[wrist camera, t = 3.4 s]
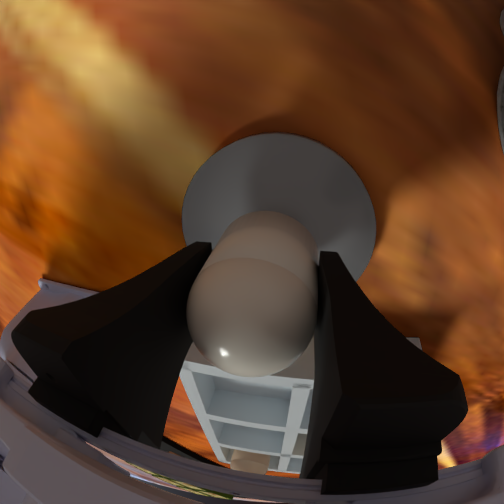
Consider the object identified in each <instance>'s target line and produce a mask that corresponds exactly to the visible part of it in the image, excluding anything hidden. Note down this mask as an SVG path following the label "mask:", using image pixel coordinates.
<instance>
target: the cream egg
mask: <svg viewBox="0 0 504 504" xmlns="http://www.w3.org/2000/svg"><path fill="white" fill-rule="evenodd" d="M318 266H319V254H318V248H317V245H316V242H315V240H314V238H313V237H312V235H311V233H310V232H309V231H308V230H307V229H306V228H305V227H304V226H303V225H302V224H301V223H300V222H298V221H297V220H295V219H293V218H292V217H290V216H287V215H285V214H282V213H278V212H273V211H256V212H251V213H248V214H245V215H243V216H241V217H239V218H237V219H236V220H234V221H233V222H232V223H231V224H230V225H229V226H228V227H227V228H226V230H225V231H224V233H223V235H222V236H221V238H220V239H219V241H218V243H217V244H216V246H215V248H214V249H213V251H212V252H211V254H210V256H209V257H208V259H207V261H206V262H205V264H204V266H203V267H202V269H201V271H200V272H199V274H198V276H197V277H196V279H195V281H194V283H193V285H192V287H191V289H190V292H189V296H188V300H187V306H186V319H187V326H188V330H189V333H190V336H191V338H192V340H193V342H194V344H195V346H196V348H197V349H198V350H199V352H200V353H201V354H202V355H203V356H204V357H205V359H206V360H208V361H209V362H210V363H211V364H212V365H214V366H215V367H217V368H219V369H220V370H222V371H224V372H227V373H229V374H232V375H236V376H241V377H263V376H267V375H271V374H274V373H277V372H279V371H281V370H283V369H285V368H287V367H288V366H290V365H291V364H292V363H294V362H295V361H296V360H297V359H298V358H299V357H300V356H301V355H302V354H303V353H304V351H305V350H306V349H307V347H308V345H309V343H310V342H311V339H312V337H313V335H314V332H315V328H316V324H317V314H318Z"/></svg>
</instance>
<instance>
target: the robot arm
mask: <svg viewBox="0 0 504 504" xmlns="http://www.w3.org/2000/svg"><path fill="white" fill-rule="evenodd" d="M211 252H212V243H211V242H199V241H196V242H194V243H192V244H190V245H188V246H187V247H185V248H183V249H182V250H180V251H178V252H177V253H175V254H173V255H172V256H170V257H168V258H167V259H165V260H163V261H162V262H160V263H159V264H157V265H155V266H153V267H152V268H150V269H148V270H146V271H144V272H143V273H141V274H139V275H137V276H135V277H134V278H132V279H130V280H128V281H126V282H123V283H121V284H119V285H117V286H115V287H112V288H110V289H108V290H105V291H102V292H95V291H91V290H87V289H82V288H78V287H74V286H70V285H66V284H62V283H58V282H54V281H50V280H46V279H42V278H40V279H39V280H38V283H39V286H40V288H41V290H40V291H39V292H38V293H37V294H36V295H35V296H34V297H33V298H32V299H31V300H30V301H29V302H28V303H27V304H26V305H25V306H24V307H23V308H22V309H21V310H20V312H19V313H18V314H17V315H16V316H15V317H14V318H13V319H12V320H11V321H10V322H9V324H8V325H7V326H6V328H5V329H4V331H3V333H2V336H1V340H0V356H1V357H0V504H204V503H201V502H197V501H194V500H191V499H188V498H184V497H181V496H178V495H175V494H172V493H169V492H167V491H164V490H161V489H159V488H156V487H153V486H151V485H148V484H146V483H143V482H141V481H138V480H136V479H134V478H131V477H129V476H130V473H129V472H128V471H126V470H125V469H123V468H121V467H120V466H118V465H116V464H115V463H114V462H112V461H111V460H109V459H108V458H107V457H105V456H104V455H103V454H102V453H101V452H100V451H98V450H96V449H95V448H93V447H91V446H90V445H88V444H86V442H88V443H90V444H92V445H94V446H95V447H97V448H99V449H101V450H103V451H105V452H107V453H109V454H111V455H114V456H116V457H118V458H120V459H122V460H124V461H127V462H129V463H131V464H134V465H136V466H139V467H141V468H144V469H146V470H149V471H151V472H154V473H157V474H159V475H162V476H165V477H168V478H171V479H174V480H177V481H180V482H183V483H187V484H190V485H194V486H197V487H201V488H205V489H209V490H213V491H217V492H221V493H226V494H231V495H236V496H241V497H247V498H253V499H259V500H266V501H275V502H284V503H296V504H504V445H502V446H499V447H498V448H496V449H494V450H492V451H491V452H489V453H488V454H486V455H485V456H484V457H483V458H482V459H479V460H476V461H472V462H469V463H465V464H461V465H457V466H453V467H449V468H445V469H440V470H438V462H437V455H440V454H441V452H442V446H441V440H442V439H444V438H445V437H446V436H447V435H448V434H449V433H451V432H452V431H453V430H454V429H455V428H456V427H457V426H458V425H459V424H460V423H461V422H462V421H463V420H464V418H465V416H466V414H467V412H468V406H467V401H466V397H465V392H464V388H463V385H462V382H461V379H460V377H459V375H458V374H456V373H455V372H453V371H452V370H450V369H448V368H447V367H445V366H444V365H442V364H441V363H439V362H437V361H436V360H434V359H433V358H431V357H430V356H429V355H427V354H426V353H425V352H423V351H422V350H421V349H419V348H418V347H417V346H415V345H414V344H413V343H412V342H410V341H409V340H408V339H407V338H406V337H405V336H403V335H402V334H401V333H400V332H399V331H398V330H397V329H396V328H394V327H393V326H392V325H391V324H390V323H389V322H388V321H387V320H386V319H385V317H384V316H383V315H382V314H381V313H380V312H379V311H378V310H377V309H376V308H375V307H374V305H373V304H372V303H371V302H370V300H369V299H368V298H367V297H366V295H365V294H364V293H363V291H362V290H361V289H360V287H359V286H358V284H357V283H356V281H355V280H354V278H353V277H352V275H351V274H350V272H349V271H348V269H347V267H346V266H345V264H344V262H343V261H342V259H341V257H340V255H339V254H338V253H337V252H332V251H320V257H319V266H318V314H317V324H316V328H315V332H314V364H315V370H314V385H313V394H312V403H311V411H310V418H309V425H308V432H307V438H306V445H305V451H304V456H303V461H302V467H301V472H300V477H299V478H288V477H278V476H270V475H262V474H256V473H250V472H244V471H238V470H233V469H228V468H223V467H219V466H215V465H210V464H206V463H202V462H198V461H195V460H191V459H188V458H184V457H181V456H177V455H174V454H171V453H168V452H165V451H162V450H160V448H161V442H162V437H163V433H164V428H165V423H166V419H167V415H168V412H169V408H170V404H171V400H172V397H173V393H174V390H175V387H176V384H177V380H178V377H179V374H180V372H181V369H182V366H183V363H184V360H185V358H186V355H187V353H188V351H189V348H190V346H191V344H192V342H193V340H192V338H191V336H190V333H189V330H188V326H187V319H186V306H187V300H188V296H189V292H190V289H191V287H192V285H193V283H194V281H195V279H196V277H197V276H198V274H199V272H200V271H201V269H202V267H203V266H204V264H205V262H206V261H207V259H208V257H209V256H210V254H211ZM85 441H86V442H85Z"/></svg>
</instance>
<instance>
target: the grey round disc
mask: <svg viewBox="0 0 504 504" xmlns="http://www.w3.org/2000/svg"><path fill="white" fill-rule="evenodd" d="M256 211H273V212H278V213H282V214H285V215H287V216H290V217H292V218H293V219H295V220H297V221H298V222H300V223H301V224H302V225H303V226H304V227H305V228H306V229H307V230H308V231H309V232H310V233H311V235H312V237H313V238H314V240H315V242H316V245H317V248H318V254H319V257H320V251H332V252H337V253H338V254H339V255H340V257H341V259H342V261H343V262H344V264H345V266H346V267H347V269H348V271H349V272H350V274H351V275H352V277H353V278H354V280H355V281H357V280H358V279H359V277H360V276H361V275H362V273H363V272H364V270H365V268H366V267H367V265H368V263H369V260H370V258H371V256H372V252H373V249H374V245H375V238H376V219H375V213H374V208H373V205H372V202H371V199H370V196H369V194H368V192H367V190H366V188H365V186H364V184H363V182H362V181H361V179H360V177H359V175H358V174H357V173H356V171H355V170H354V169H353V167H352V166H351V165H350V164H349V163H348V162H347V161H346V160H345V159H344V158H343V157H342V156H341V155H339V154H338V153H337V152H336V151H334V150H333V149H332V148H330V147H328V146H326V145H325V144H323V143H321V142H319V141H317V140H314V139H311V138H309V137H306V136H302V135H298V134H294V133H285V132H265V133H259V134H254V135H250V136H247V137H244V138H241V139H239V140H237V141H235V142H233V143H231V144H229V145H227V146H226V147H224V148H222V149H221V150H219V151H218V152H217V153H215V154H214V155H212V156H211V157H210V158H209V159H208V160H207V161H206V162H205V163H204V164H203V165H202V166H201V167H200V168H199V170H198V171H197V172H196V174H195V175H194V177H193V178H192V180H191V182H190V184H189V186H188V189H187V191H186V194H185V197H184V202H183V207H182V228H183V234H184V238H185V242H186V245H187V246H188V245H190V244H192V243H194V242H196V241H199V242H211V243H212V251H213V249H214V248H215V246H216V244H217V243H218V241H219V239H220V238H221V236H222V235H223V233H224V231H225V230H226V228H227V227H228V226H229V225H230V224H231V223H232V222H233V221H234V220H236V219H237V218H239V217H241V216H243V215H245V214H248V213H251V212H256Z"/></svg>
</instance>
